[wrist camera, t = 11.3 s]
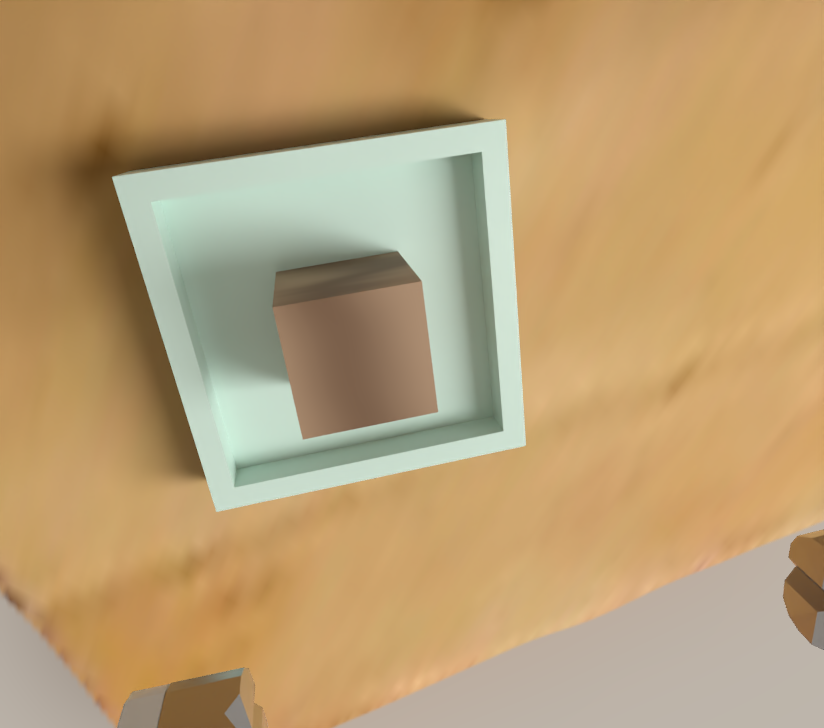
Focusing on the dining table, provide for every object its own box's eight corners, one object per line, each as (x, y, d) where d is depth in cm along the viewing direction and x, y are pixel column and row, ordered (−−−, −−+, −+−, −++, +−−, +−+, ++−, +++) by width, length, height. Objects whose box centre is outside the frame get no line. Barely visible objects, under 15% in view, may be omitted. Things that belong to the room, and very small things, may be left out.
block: (397, 251, 25) (421, 281, 20) (413, 362, 27) (438, 412, 22) (275, 271, 24) (272, 307, 20) (300, 383, 26) (302, 439, 22)
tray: (485, 119, 25) (505, 119, 22) (507, 420, 30) (525, 445, 28) (129, 170, 23) (111, 176, 21) (222, 480, 28) (216, 511, 26)
